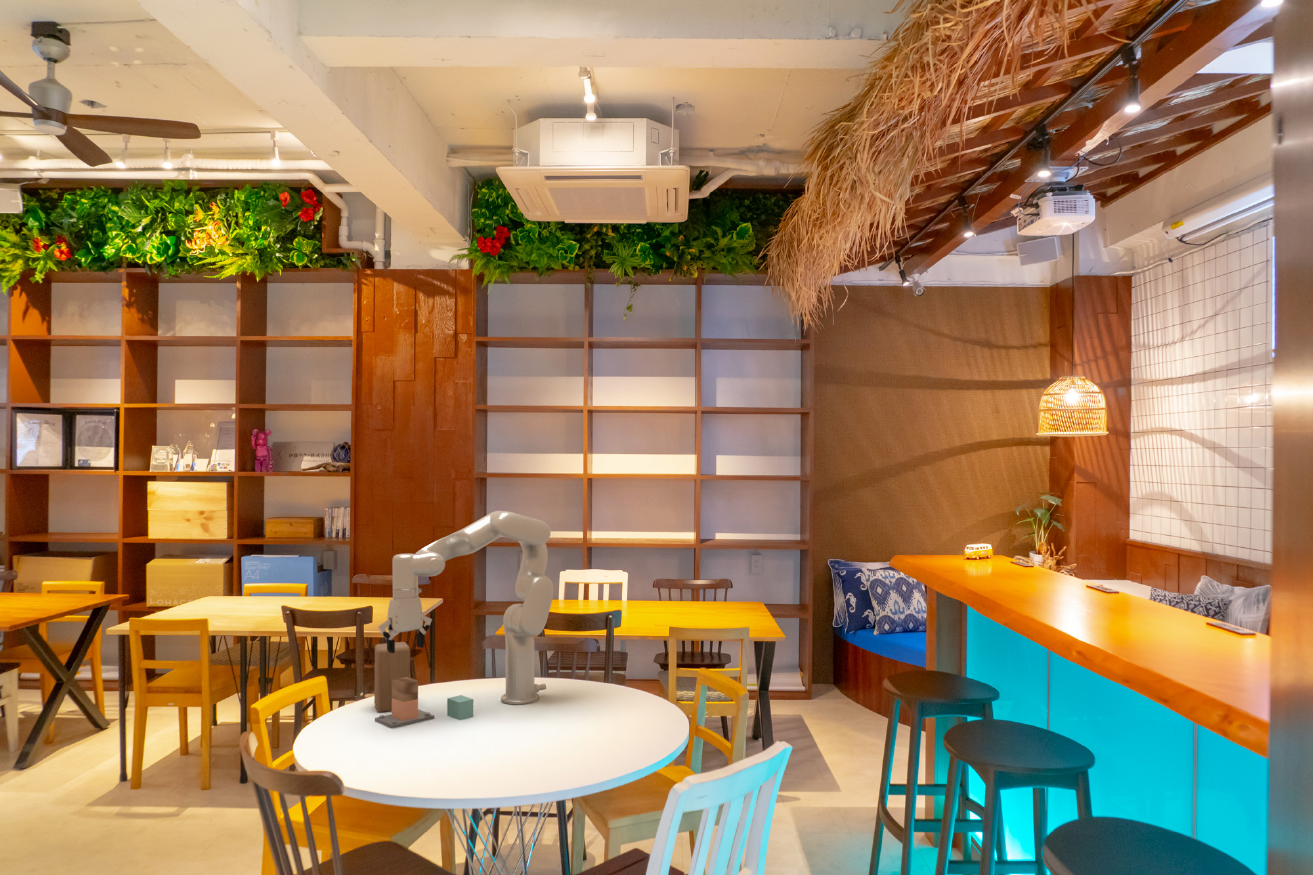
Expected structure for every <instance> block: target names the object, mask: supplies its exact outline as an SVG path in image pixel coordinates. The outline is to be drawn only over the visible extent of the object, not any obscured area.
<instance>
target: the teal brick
mask: <svg viewBox="0 0 1313 875" xmlns="http://www.w3.org/2000/svg"><path fill="white" fill-rule="evenodd" d="M446 700H447V701H446V702H447V704H446V705H447V706H446V708H447V709H446V710H447V712H446V713H447V714H446V716H447V717H450V718H452V719H455V720H458V721H462V720H466V719H470V718H473V717H474V699H473V698H472V697H468V696H465V695H461V694H460V695H456V696H452V697H447V699H446Z"/></svg>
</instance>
